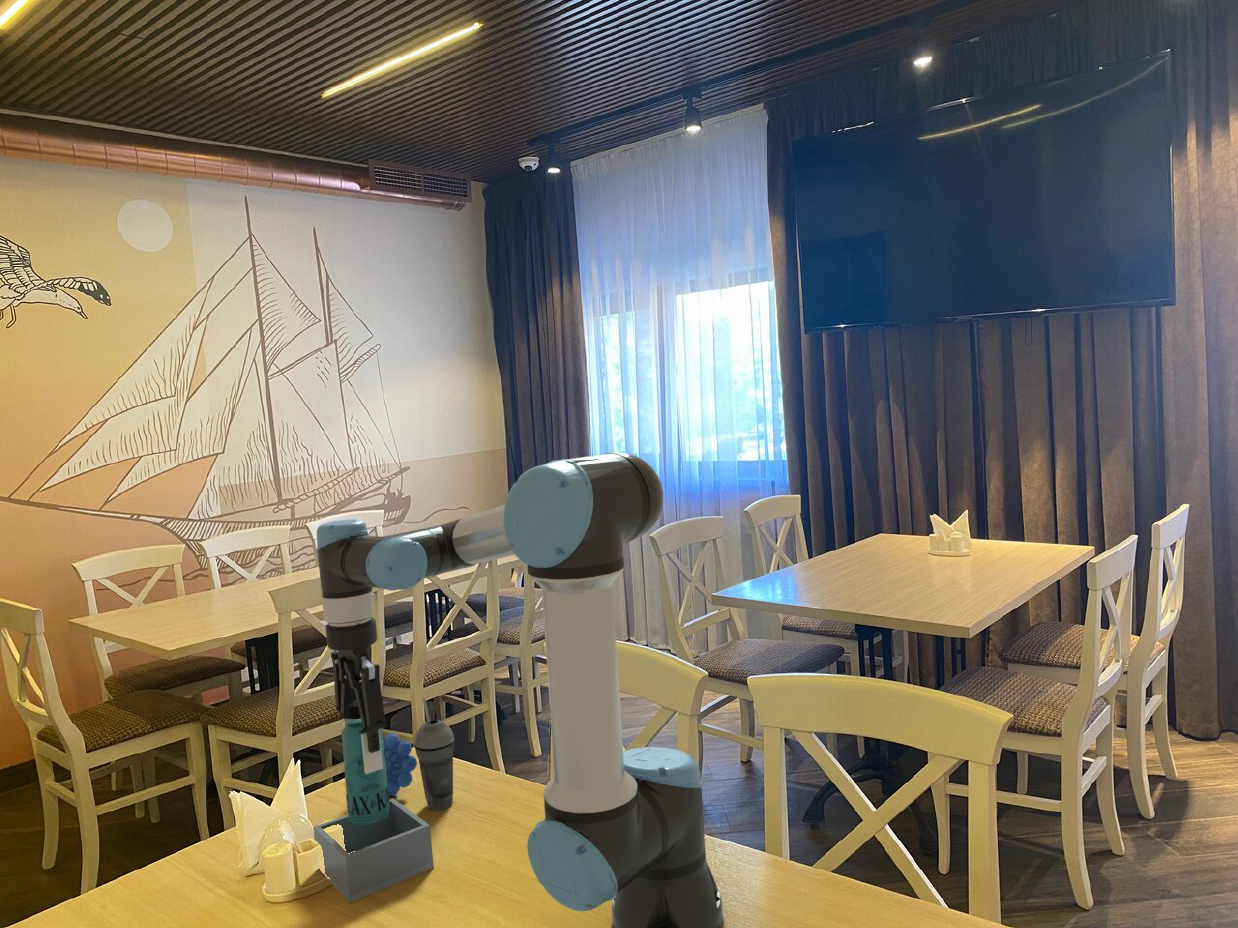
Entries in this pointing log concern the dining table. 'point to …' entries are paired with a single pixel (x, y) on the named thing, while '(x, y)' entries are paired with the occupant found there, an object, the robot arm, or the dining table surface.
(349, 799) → the beverage bottle
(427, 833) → the crate
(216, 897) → the dining table surface
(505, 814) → the dining table surface
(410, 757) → the grapes
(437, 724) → the beverage cup
